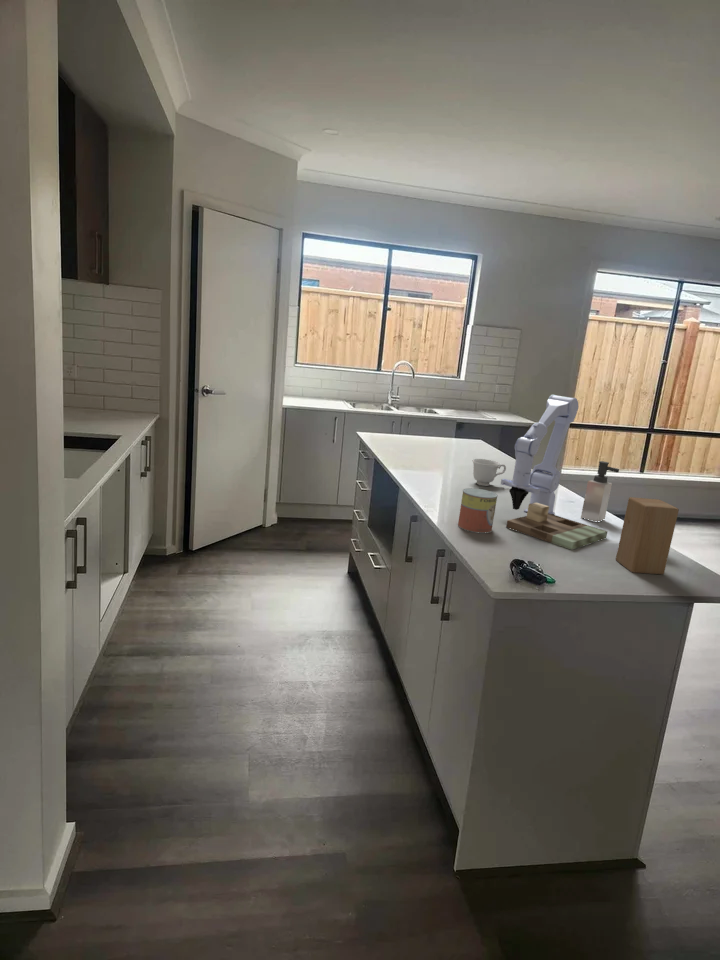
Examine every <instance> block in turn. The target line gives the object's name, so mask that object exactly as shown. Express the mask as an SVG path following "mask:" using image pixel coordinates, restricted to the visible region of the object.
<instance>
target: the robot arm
mask: <svg viewBox="0 0 720 960" xmlns="http://www.w3.org/2000/svg"><path fill="white" fill-rule="evenodd" d="M545 408H546V409H545V411H544V412H543V414H542V415H541V417H540V419H539V420H538V421H537V422H534V423H533V424H532V425H530V428H529V429H528V430H527V431H526V433H525V434H524V435H523V436H520V437H518V438H517V440H516V441H515V444H514V450H515V451H514V453H515V454H514V456H515V463H514V464H515V465H514V469H513V475H512V480H511V479H507V478H502V479H500V480H501V481H500V485H501V486H507V487H511V488H508V489H509V490H508V491H509V494H510V497H511V502H512V510H515V511H517V510H518V511H519V510H520V508H521V506H522V503H523V501H524V500H525V498H526V497H527V495H528V494H529V493H530V494H531V495H530V501H529V504H532V503H540V504H543V505H546V506H549V511H548V513H549V514H553V515H556V513H555V512H553V511H554V507H555V501H556V493H555V491H557V489H558V488H559V485H560V478H561V472H560V470H559V468H557V462H558V460H559V457H560V454H561V450H562V448H563V445H564V442H565V438H566V437H567V433H568V430H569V428H570V424H571V423H573V422H575V419H576V416H577V414H578V411H579V400H578V398H576V397H569V396H564V395H562V396H561V395H556V394H550V395H549V397H548V399H547V400H546V407H545ZM552 423H554V425H553V427H552V430H551V431H552V432H551V434H550V438H549V440H548V443H547V446H546V449H545V453H544V456H543V459H542V460H541V462H540V463H538V464H536V465H533V462H534V458H535V457H534V456H536V455H537V453H538V451H539V449H540V446H541V442H542V440H543V439H544V438H545V436H546V435H547V434H548V428H549V426H551V424H552ZM532 467H533V469H532ZM523 512H526V513H527V512H528V508H526V509H523Z"/></svg>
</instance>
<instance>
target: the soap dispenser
mask: <svg viewBox="0 0 720 960" xmlns="http://www.w3.org/2000/svg"><path fill="white" fill-rule="evenodd" d="M609 463H610V462H608V461H605V460H604V461H601V460H599V461H598V467H597V475H594V477H593V479H591V480H587V485H586V488H585V489H586V490H585V495H584V498H583V499H584V500H583V505H582V509H581V515H580V519H581V518H585V519H589V520H593V521H597V522H598V521H601V520H603V519H606V515H607V509H608V504H609V500H610V496H611V495H610V494H611V490H612V485H613V482H609V481H608V476H607V471H610V472H614V473H619V472H620V468H616V467H612V466H609ZM585 519H584V520H585Z"/></svg>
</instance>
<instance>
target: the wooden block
mask: <svg viewBox="0 0 720 960" xmlns="http://www.w3.org/2000/svg"><path fill="white" fill-rule="evenodd" d="M627 500H628V502H627V505H626V510H625V515H624V518H623V519H624V520H623V524H622V529H621V533H620V539H619V543H618V547H617V552H616V556H615V561H617V563H619V564H620V565H622V566H623V567H625V569H627V570H628V571H630V572H631V573H635V574H636V573H637V574H638V573H639V574H651V575H664V574H665V570H666V567H667V562H668V557H669V553H670V550H671V549H670V548H671V545H672V541H673V537H674V532H675V528H676V523H677V520H678V515H679V508H677V507H676V506H673V505H672V504H670V503H668V502H666V501H663V500H661V499H658V498H657V499H656V498H655V499H654V498H646V497H644V498H643V497H633V496H632V497H631V496H630V497H628V499H627Z"/></svg>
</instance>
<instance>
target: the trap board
mask: <svg viewBox="0 0 720 960" xmlns="http://www.w3.org/2000/svg"><path fill="white" fill-rule="evenodd" d="M526 517H527V515H525V516H522V517H521V516H520V517H515V518H511V519H507V520H506V525H505V526H506V527H508V528H507V529H509V528H511V529H510V530H512V529H514V530H513V531H515V530H517V531H516V532H518V531H519V533H521V532H522V534H524V533H525V534H524V535H527V534H528V535H527V536H530V537H532V538H533V537H534V538H535V539H538V540H542V541H544V542H547V543H550V544H554V545H556V546H560V547H562V548H565V549H568V550H571V551H572V550H575V549H578V548H582V547H584V545H585V546H587V544H588V545H590V543H591V544H594V543H596V541H597V542H599V541H598V540H600V541H602V540H601V539H603V540H605V539H604V538H606V539H607V536H608V530H604V529H602V528H598V527H594V526H592V525H589V524H585V523H582V522H578V521H575V520H572V519H569V518H565V517H562V516H559V515H556V514H549V513H548V516H547V520H546V521H542V522H537V521H534V520H531V519H528V518H526ZM506 527H505V528H506ZM593 542H594V543H593Z"/></svg>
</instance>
